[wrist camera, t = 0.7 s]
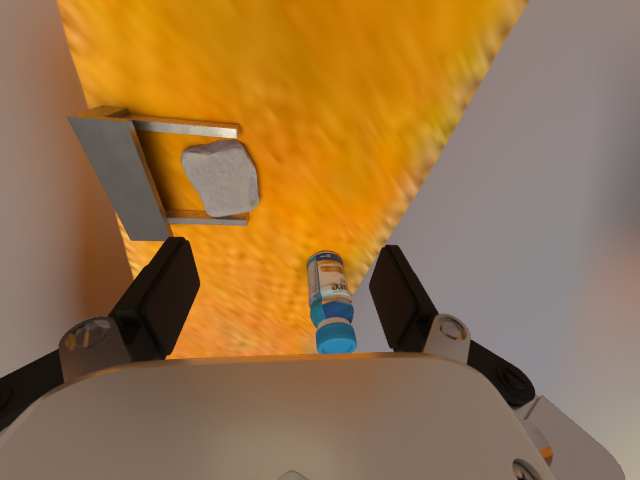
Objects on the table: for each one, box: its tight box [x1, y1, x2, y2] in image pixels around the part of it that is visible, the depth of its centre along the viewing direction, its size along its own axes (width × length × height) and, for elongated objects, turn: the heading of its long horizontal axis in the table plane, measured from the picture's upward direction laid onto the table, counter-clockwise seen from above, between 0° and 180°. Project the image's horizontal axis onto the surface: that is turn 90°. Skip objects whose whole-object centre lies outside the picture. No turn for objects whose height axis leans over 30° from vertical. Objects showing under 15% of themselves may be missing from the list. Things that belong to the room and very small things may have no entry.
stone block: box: [181, 140, 259, 217], centre depth 38 cm, size 12×5×10 cm
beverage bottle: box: [307, 251, 357, 354], centre depth 46 cm, size 8×8×20 cm
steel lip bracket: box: [67, 106, 249, 241], centre depth 35 cm, size 18×18×6 cm
